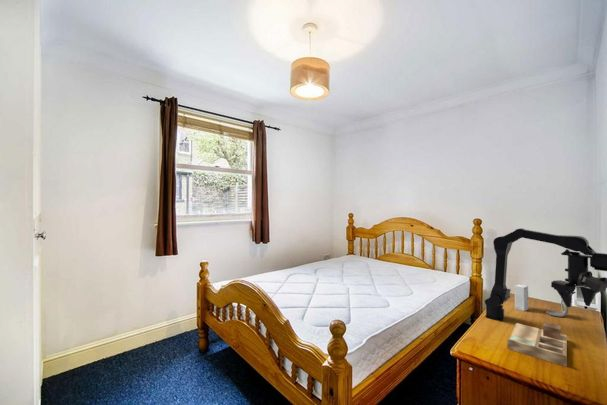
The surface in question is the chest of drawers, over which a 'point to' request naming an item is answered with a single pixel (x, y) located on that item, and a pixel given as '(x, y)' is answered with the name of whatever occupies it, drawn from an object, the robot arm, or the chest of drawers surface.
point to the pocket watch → (558, 314)
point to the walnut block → (552, 330)
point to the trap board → (538, 344)
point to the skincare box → (521, 297)
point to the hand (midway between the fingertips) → (578, 306)
